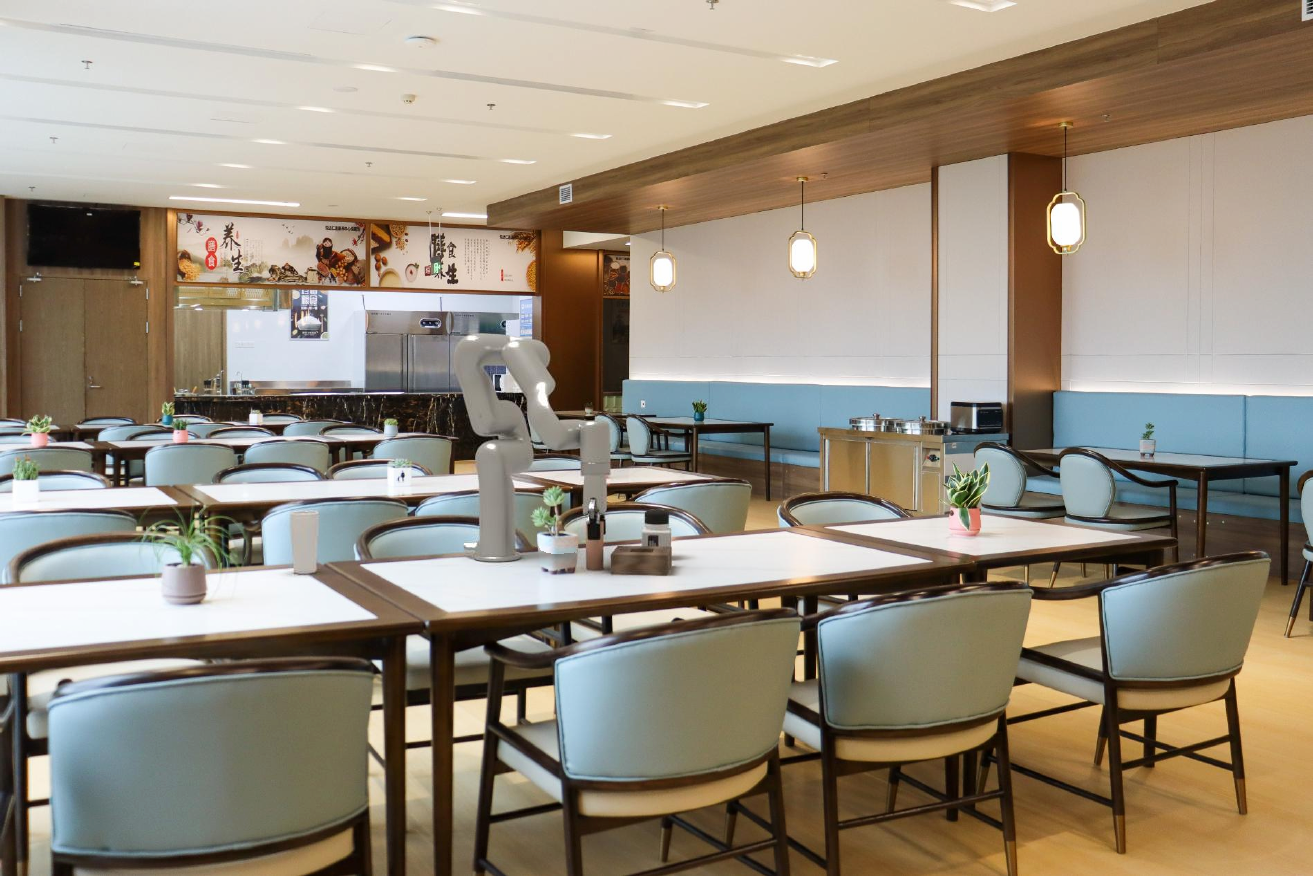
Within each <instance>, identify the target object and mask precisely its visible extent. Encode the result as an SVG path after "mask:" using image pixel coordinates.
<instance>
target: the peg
mask: <svg viewBox="0 0 1313 876" xmlns="http://www.w3.org/2000/svg"><path fill="white" fill-rule="evenodd" d="M587 524H588V520H587V521H585V570H586V571H591V572H592V571H593V572H594V571H603V570H604V535H603V534H604V522H603V521H599V524H600V533H601V539H600V540H588V536H587Z"/></svg>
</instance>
